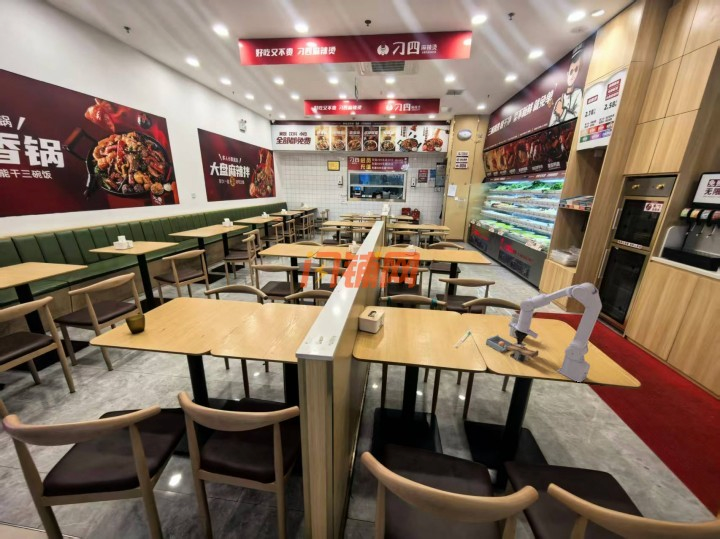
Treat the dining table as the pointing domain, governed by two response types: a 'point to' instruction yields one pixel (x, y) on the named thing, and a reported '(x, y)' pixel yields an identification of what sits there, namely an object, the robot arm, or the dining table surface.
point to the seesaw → (522, 349)
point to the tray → (497, 343)
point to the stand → (519, 356)
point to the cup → (515, 320)
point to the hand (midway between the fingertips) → (519, 343)
